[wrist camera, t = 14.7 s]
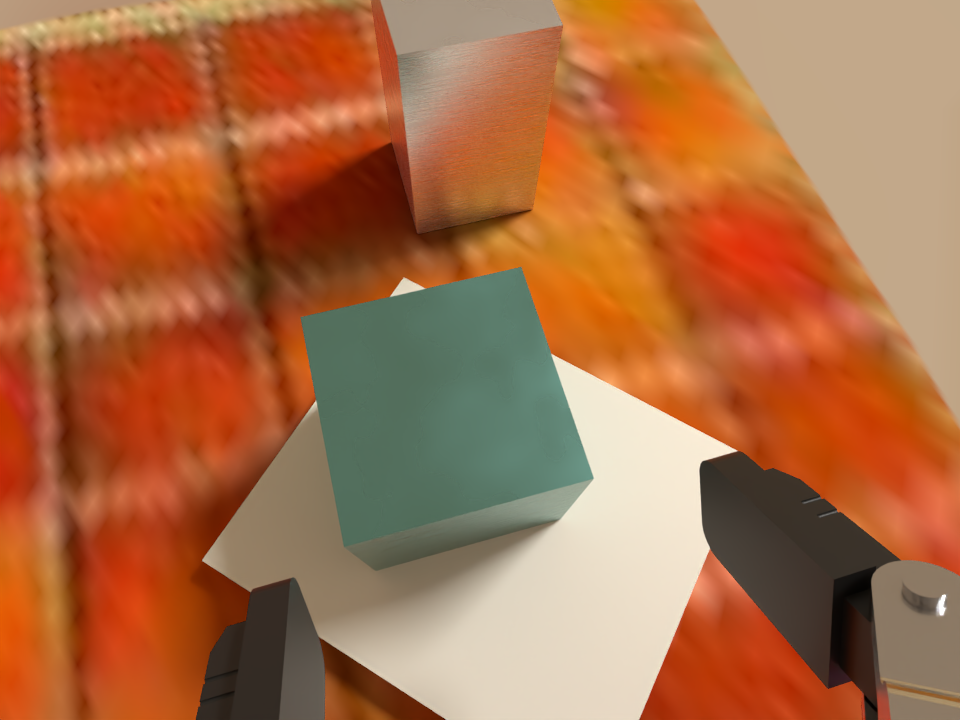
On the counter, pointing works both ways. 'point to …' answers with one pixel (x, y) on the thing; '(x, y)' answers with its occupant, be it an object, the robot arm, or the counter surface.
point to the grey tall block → (467, 102)
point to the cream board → (503, 573)
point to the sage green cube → (442, 419)
